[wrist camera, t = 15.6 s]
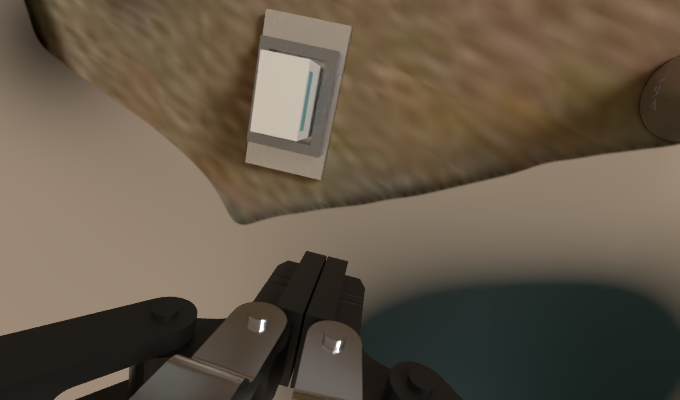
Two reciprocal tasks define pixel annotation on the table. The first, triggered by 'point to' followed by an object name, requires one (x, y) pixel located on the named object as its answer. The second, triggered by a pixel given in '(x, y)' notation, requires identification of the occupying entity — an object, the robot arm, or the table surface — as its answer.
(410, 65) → the table surface
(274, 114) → the block
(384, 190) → the table surface
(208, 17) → the table surface
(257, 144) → the grey flat block
